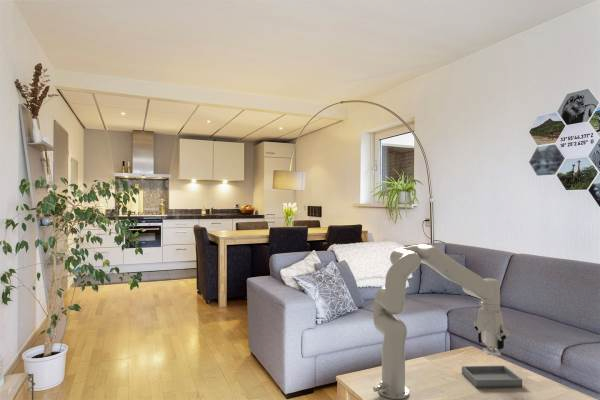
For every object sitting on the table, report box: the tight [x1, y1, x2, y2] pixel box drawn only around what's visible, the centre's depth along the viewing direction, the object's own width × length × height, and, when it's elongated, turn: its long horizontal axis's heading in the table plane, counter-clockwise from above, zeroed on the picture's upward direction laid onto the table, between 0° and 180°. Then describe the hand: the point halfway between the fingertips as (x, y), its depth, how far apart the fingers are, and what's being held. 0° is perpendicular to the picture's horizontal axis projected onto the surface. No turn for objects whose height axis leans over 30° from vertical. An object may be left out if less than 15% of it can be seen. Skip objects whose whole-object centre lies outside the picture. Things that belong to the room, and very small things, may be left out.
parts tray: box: [461, 365, 523, 389], centre depth 172 cm, size 20×14×4 cm
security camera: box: [481, 330, 502, 357], centre depth 172 cm, size 6×7×10 cm
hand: (490, 345), depth 172 cm, fingers closed on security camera, 8 cm apart
